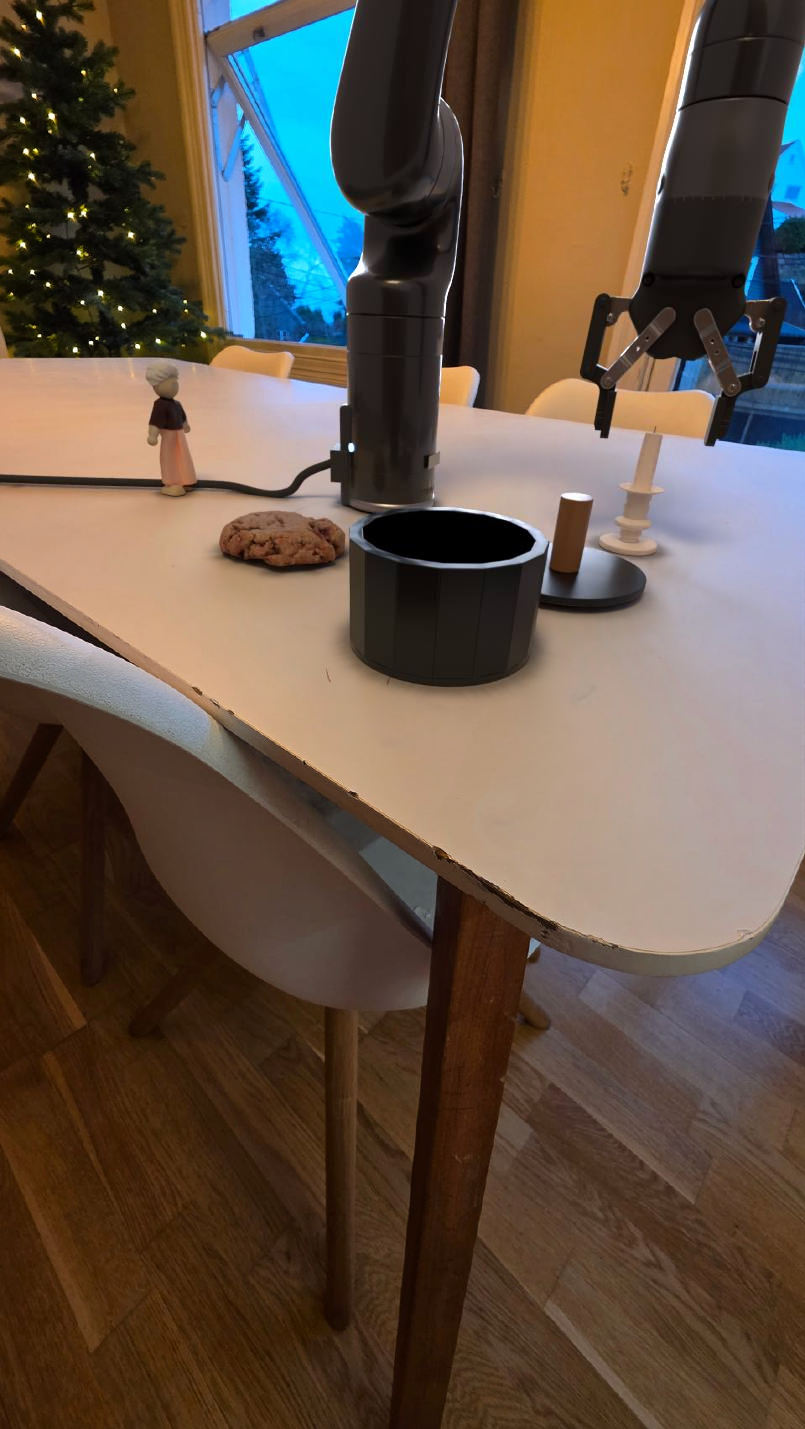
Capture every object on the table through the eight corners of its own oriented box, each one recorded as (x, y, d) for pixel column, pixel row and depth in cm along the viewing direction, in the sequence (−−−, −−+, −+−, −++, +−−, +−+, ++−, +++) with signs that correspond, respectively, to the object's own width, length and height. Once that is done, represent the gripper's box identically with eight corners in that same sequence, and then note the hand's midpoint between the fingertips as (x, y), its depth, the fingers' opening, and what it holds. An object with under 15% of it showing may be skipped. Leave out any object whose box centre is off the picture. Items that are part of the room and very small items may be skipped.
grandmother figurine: (187, 499, 66) (168, 363, 59) (151, 497, 66) (127, 361, 59) (207, 482, 73) (192, 357, 66) (174, 480, 73) (155, 355, 66)
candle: (606, 534, 62) (632, 419, 56) (661, 545, 59) (693, 426, 54) (591, 548, 58) (617, 426, 52) (649, 560, 56) (682, 433, 50)
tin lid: (467, 598, 47) (476, 507, 43) (498, 548, 57) (508, 471, 53) (642, 626, 44) (668, 530, 40) (643, 568, 54) (664, 487, 50)
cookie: (227, 534, 57) (224, 500, 55) (344, 535, 58) (343, 502, 57) (211, 573, 49) (206, 535, 47) (347, 573, 50) (346, 536, 48)
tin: (320, 664, 37) (315, 549, 33) (385, 595, 47) (388, 498, 43) (512, 702, 34) (531, 582, 31) (541, 621, 44) (559, 520, 40)
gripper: (810, 204, 46) (739, 441, 55) (610, 206, 50) (574, 428, 58) (834, 187, 40) (751, 456, 49) (605, 191, 44) (566, 441, 52)
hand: (655, 441), depth 54 cm, fingers open, 8 cm apart
